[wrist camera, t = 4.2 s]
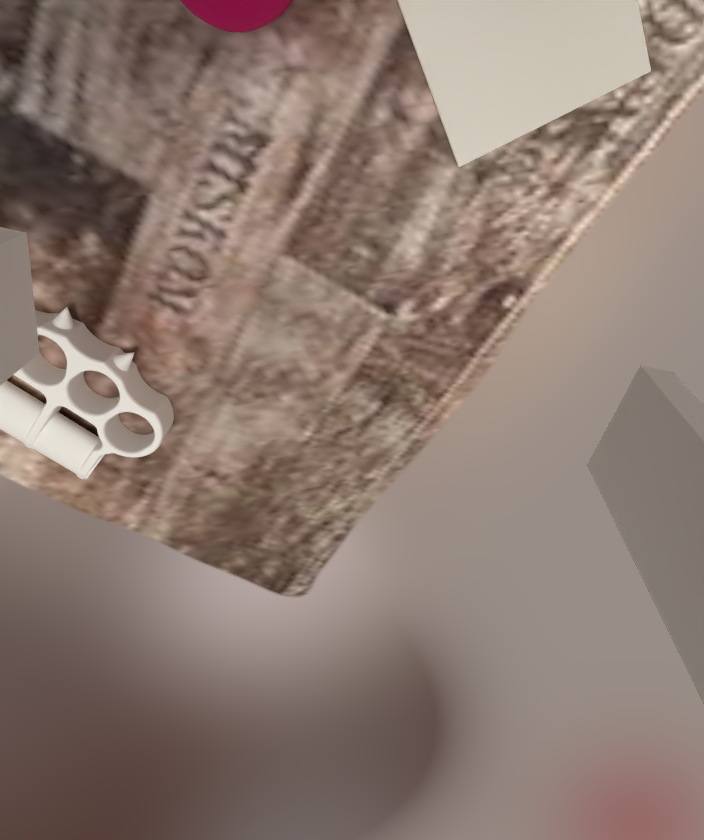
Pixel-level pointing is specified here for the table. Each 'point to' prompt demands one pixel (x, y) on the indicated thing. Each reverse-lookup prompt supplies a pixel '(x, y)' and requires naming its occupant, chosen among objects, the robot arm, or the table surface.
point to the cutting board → (520, 62)
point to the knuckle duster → (81, 401)
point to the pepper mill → (237, 12)
